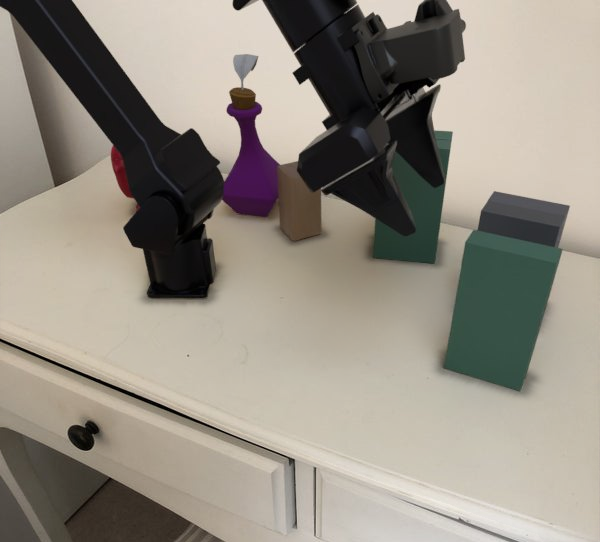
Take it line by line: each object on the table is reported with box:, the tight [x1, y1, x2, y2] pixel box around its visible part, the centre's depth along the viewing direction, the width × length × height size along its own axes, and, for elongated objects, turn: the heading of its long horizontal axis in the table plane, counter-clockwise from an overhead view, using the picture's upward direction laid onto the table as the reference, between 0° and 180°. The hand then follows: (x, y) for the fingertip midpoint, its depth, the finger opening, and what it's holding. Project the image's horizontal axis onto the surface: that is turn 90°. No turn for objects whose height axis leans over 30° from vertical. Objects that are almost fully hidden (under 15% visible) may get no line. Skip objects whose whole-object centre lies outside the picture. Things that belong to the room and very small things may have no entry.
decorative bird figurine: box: [110, 144, 140, 214], centre depth 82 cm, size 3×18×10 cm, turn 0°
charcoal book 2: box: [487, 190, 571, 248], centre depth 63 cm, size 7×2×11 cm, turn 62°
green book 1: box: [372, 140, 452, 264], centre depth 69 cm, size 7×2×13 cm, turn 77°
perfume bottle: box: [221, 53, 281, 218], centre depth 77 cm, size 8×8×18 cm
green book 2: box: [443, 229, 564, 392], centre depth 54 cm, size 7×2×13 cm, turn 62°
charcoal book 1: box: [476, 200, 565, 248], centre depth 61 cm, size 7×2×11 cm, turn 62°
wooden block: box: [277, 160, 322, 242], centre depth 76 cm, size 4×4×8 cm
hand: (426, 208), depth 54 cm, fingers open, 9 cm apart
